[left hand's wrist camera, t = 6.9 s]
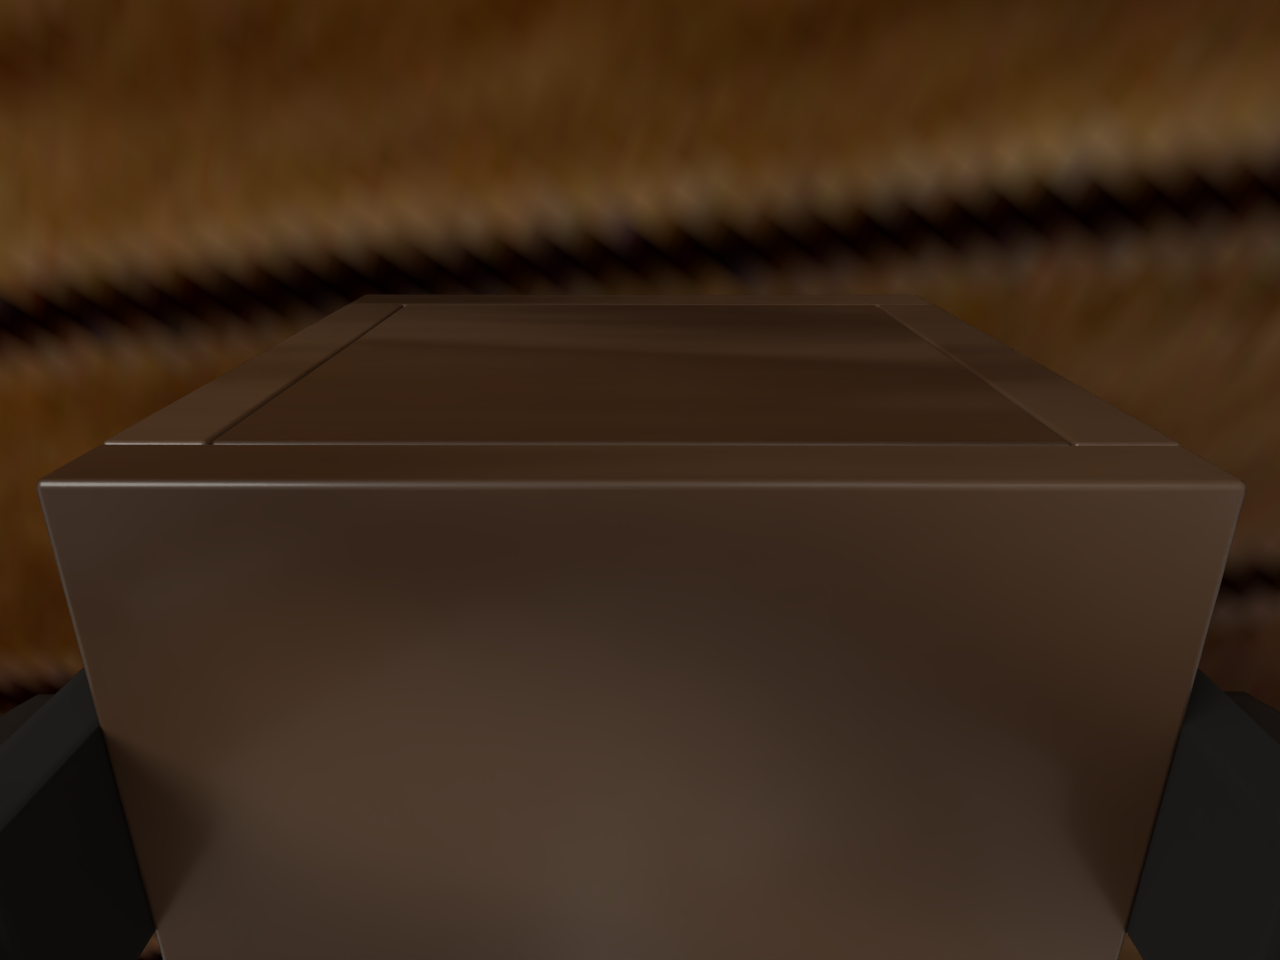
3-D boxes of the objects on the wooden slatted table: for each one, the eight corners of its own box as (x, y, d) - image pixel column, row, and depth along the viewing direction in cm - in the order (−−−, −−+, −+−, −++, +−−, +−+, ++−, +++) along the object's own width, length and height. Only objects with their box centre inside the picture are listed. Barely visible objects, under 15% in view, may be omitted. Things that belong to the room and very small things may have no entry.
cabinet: (840, 972, 23) (969, 1515, 14) (440, 971, 23) (309, 1513, 14) (918, 294, 17) (1252, 482, 8) (363, 294, 17) (28, 480, 8)
